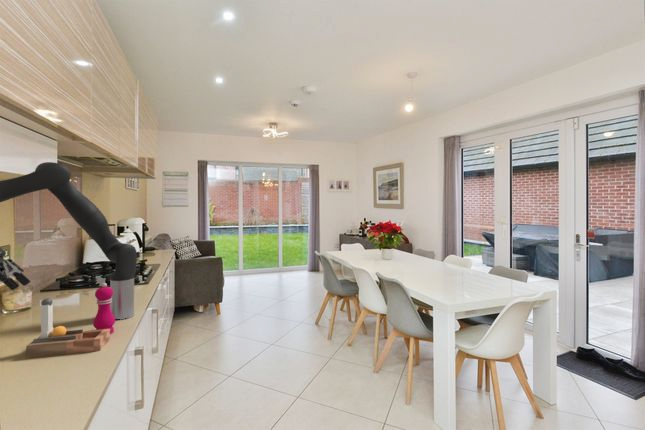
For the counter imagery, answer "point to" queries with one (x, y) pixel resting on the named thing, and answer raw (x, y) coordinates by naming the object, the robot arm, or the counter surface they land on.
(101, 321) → the pepper mill
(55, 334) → the ball
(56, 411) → the counter surface
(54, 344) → the launcher track
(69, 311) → the counter surface
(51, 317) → the launcher plunger
